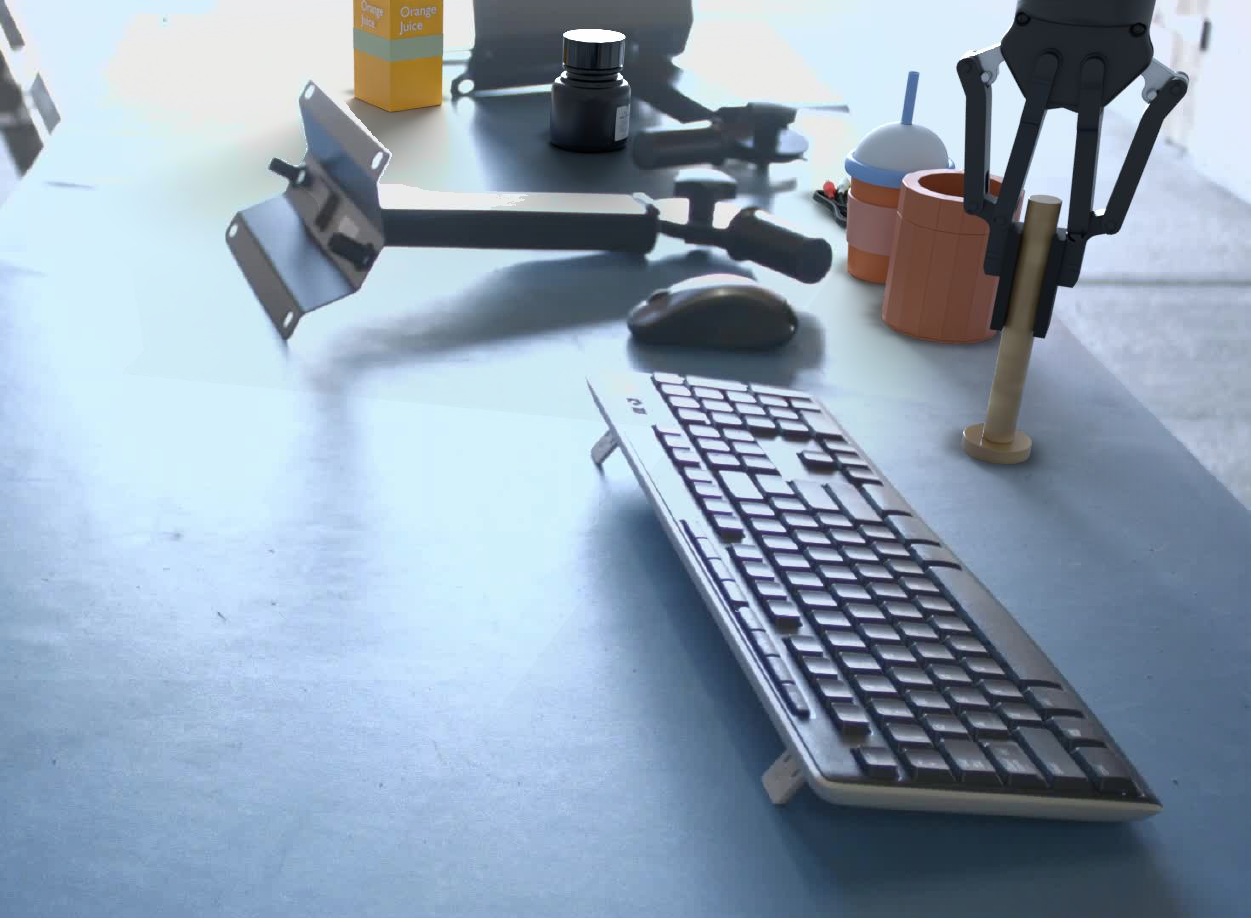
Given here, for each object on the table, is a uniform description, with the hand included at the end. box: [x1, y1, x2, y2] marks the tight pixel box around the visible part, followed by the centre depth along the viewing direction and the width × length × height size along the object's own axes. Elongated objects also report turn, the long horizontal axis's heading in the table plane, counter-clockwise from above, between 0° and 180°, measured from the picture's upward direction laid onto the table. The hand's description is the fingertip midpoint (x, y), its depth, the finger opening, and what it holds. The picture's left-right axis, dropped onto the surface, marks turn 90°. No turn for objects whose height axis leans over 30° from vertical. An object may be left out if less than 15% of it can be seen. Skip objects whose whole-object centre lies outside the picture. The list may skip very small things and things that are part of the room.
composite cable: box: [811, 176, 851, 228], centre depth 150 cm, size 10×5×2 cm, turn 168°
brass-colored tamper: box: [960, 194, 1063, 465], centre depth 99 cm, size 4×4×18 cm
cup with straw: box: [844, 70, 956, 285], centre depth 130 cm, size 9×9×18 cm
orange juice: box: [352, 0, 444, 113], centre depth 184 cm, size 8×9×20 cm
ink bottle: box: [548, 29, 632, 152], centre depth 170 cm, size 10×9×12 cm
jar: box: [880, 168, 1026, 345], centre depth 121 cm, size 9×9×12 cm
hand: (1019, 326), depth 98 cm, fingers closed on brass-colored tamper, 2 cm apart
